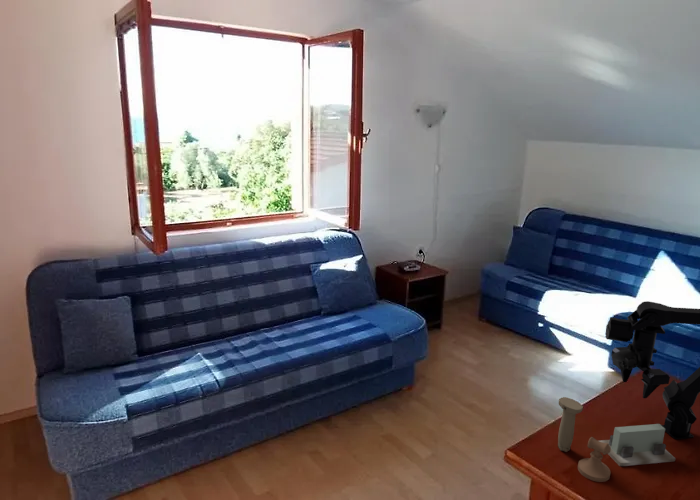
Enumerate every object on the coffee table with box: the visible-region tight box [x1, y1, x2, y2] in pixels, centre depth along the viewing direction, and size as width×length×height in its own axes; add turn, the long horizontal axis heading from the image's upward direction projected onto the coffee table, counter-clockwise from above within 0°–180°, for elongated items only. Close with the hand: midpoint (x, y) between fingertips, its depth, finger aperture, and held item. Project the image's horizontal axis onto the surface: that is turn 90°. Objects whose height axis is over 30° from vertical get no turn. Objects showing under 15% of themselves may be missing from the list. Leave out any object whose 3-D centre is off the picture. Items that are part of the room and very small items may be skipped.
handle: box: [557, 396, 584, 453], centre depth 148 cm, size 5×6×15 cm
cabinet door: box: [611, 423, 666, 454], centre depth 148 cm, size 14×2×7 cm, turn 98°
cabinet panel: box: [599, 434, 676, 467], centre depth 149 cm, size 17×10×4 cm, turn 99°
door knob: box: [577, 436, 612, 483], centre depth 140 cm, size 8×10×8 cm
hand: (634, 389), depth 160 cm, fingers open, 9 cm apart
